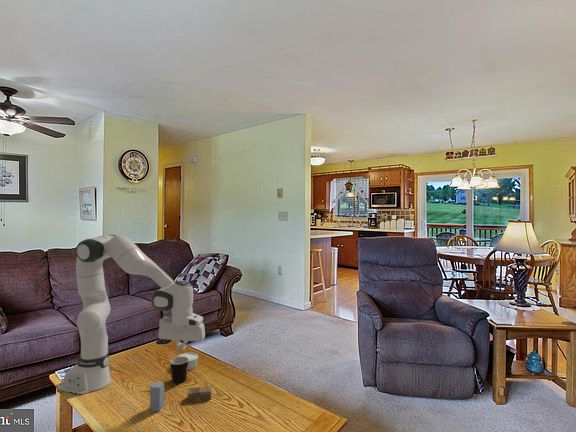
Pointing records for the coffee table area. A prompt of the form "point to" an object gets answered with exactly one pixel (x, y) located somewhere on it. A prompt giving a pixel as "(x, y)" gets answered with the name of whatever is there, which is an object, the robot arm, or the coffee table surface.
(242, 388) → the coffee table surface
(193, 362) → the ramekin
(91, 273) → the robot arm
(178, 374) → the coffee mug
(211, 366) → the coffee table surface
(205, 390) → the walnut block
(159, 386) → the slate block
